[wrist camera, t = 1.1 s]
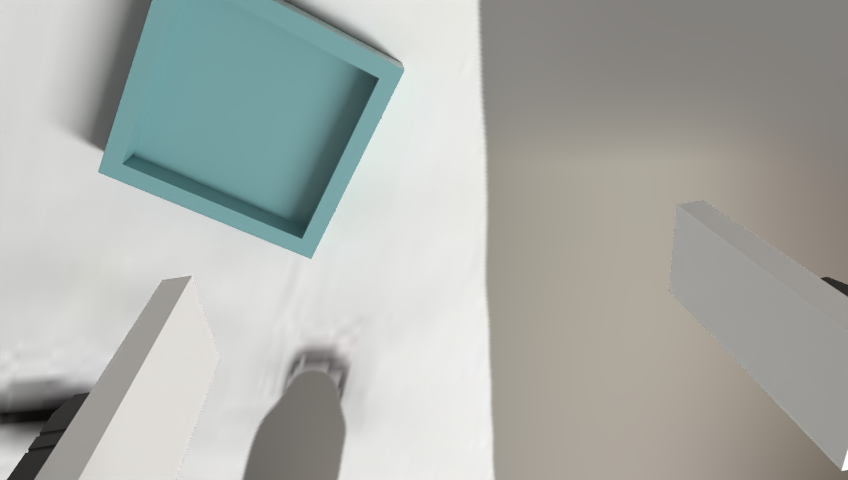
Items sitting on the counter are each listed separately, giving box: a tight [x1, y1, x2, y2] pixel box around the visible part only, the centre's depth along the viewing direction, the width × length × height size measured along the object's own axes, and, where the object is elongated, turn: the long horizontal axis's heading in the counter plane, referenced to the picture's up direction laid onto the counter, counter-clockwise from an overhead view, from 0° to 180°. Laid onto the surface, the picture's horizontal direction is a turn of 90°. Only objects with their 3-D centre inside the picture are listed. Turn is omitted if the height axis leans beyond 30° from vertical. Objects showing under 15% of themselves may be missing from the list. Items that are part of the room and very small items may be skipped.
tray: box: [98, 0, 404, 259], centre depth 38 cm, size 15×15×3 cm
